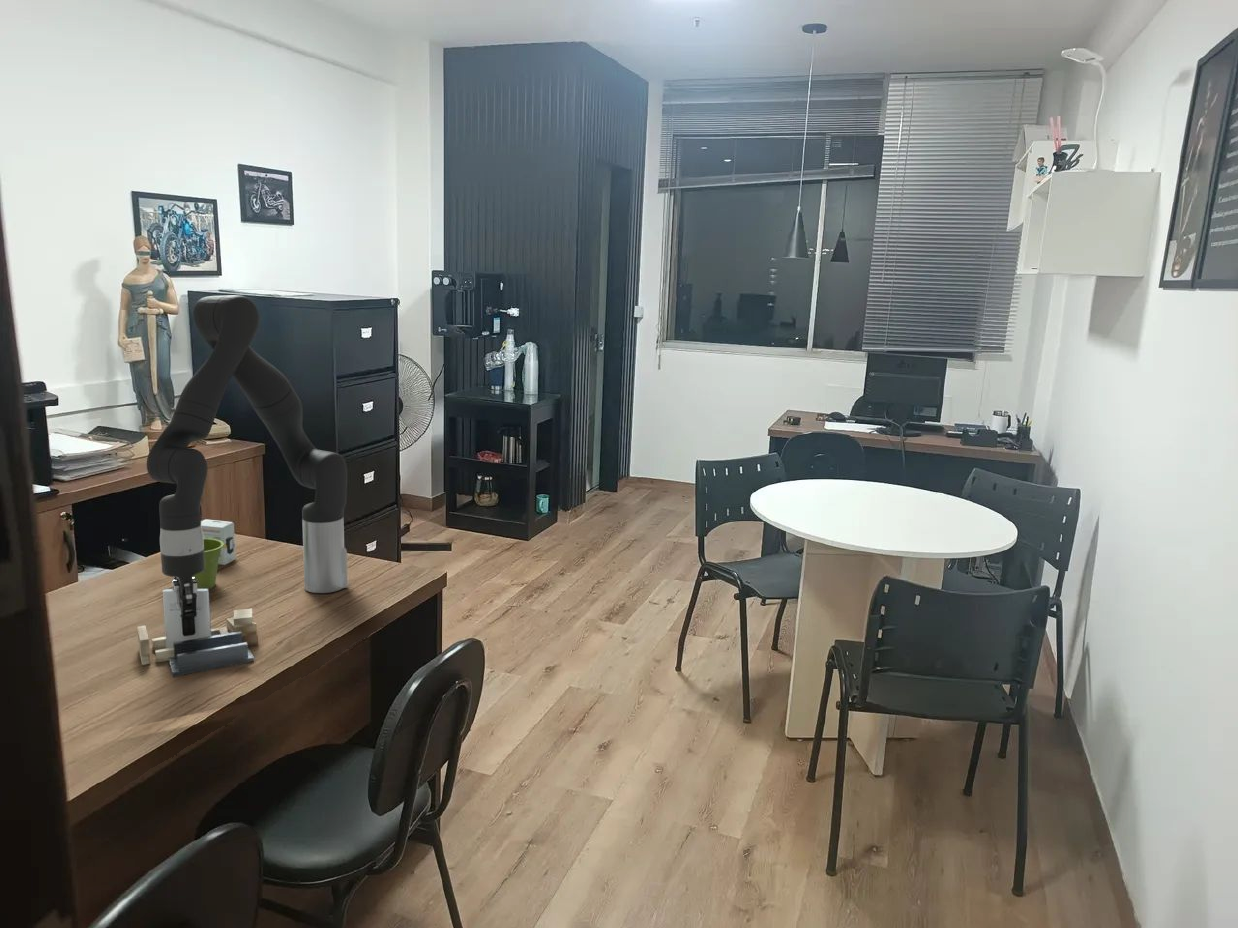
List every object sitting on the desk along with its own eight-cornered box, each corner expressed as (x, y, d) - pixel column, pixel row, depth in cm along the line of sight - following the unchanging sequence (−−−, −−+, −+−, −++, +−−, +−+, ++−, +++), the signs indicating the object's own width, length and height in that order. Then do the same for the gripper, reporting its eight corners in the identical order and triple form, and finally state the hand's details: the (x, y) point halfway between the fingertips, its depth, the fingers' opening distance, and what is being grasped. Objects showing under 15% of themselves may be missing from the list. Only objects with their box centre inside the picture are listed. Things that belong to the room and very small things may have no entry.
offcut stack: (251, 631, 179) (250, 605, 177) (258, 643, 173) (257, 617, 172) (226, 635, 176) (225, 609, 175) (232, 648, 170) (231, 621, 169)
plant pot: (204, 602, 193) (202, 554, 191) (158, 596, 195) (154, 549, 193) (236, 585, 205) (234, 540, 202) (192, 580, 207) (189, 535, 204)
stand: (247, 647, 171) (246, 629, 170) (253, 661, 165) (253, 643, 164) (168, 661, 163) (167, 643, 162) (172, 676, 157) (171, 657, 157)
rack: (226, 635, 176) (225, 612, 175) (232, 648, 170) (231, 625, 169) (138, 650, 167) (137, 626, 166) (142, 664, 161) (140, 640, 160)
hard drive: (168, 647, 169) (164, 588, 167) (212, 646, 171) (209, 588, 168) (165, 651, 168) (161, 591, 165) (210, 650, 169) (206, 590, 166)
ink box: (193, 569, 215) (191, 523, 212) (206, 563, 219) (203, 518, 217) (225, 572, 213) (222, 526, 211) (236, 566, 218) (234, 521, 216)
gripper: (209, 555, 161) (214, 641, 165) (198, 536, 173) (203, 616, 176) (164, 561, 157) (170, 648, 161) (157, 541, 169) (162, 623, 172)
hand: (187, 631), depth 168 cm, fingers closed on hard drive, 2 cm apart
